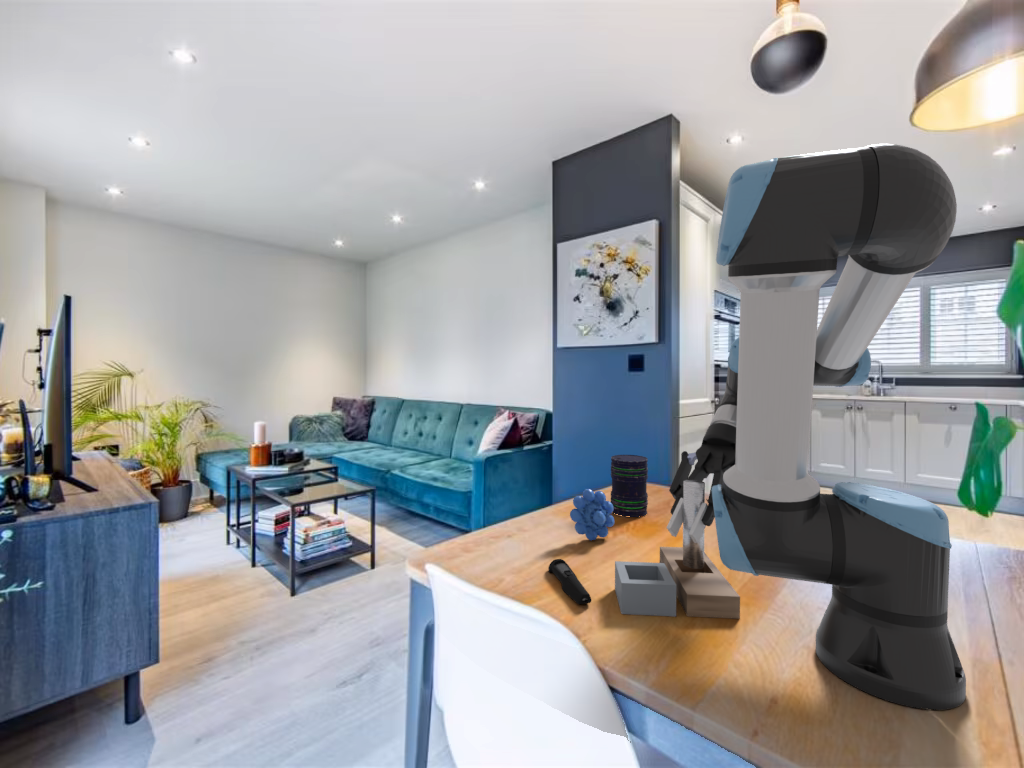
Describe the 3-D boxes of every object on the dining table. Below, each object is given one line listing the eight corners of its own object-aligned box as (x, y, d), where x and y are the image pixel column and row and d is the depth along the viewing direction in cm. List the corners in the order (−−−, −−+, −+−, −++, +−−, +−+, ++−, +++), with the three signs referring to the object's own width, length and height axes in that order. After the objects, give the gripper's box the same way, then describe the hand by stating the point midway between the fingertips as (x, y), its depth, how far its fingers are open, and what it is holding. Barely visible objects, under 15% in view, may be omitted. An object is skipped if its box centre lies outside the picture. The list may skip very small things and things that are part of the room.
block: (676, 616, 74) (676, 585, 74) (621, 613, 75) (621, 583, 74) (663, 591, 82) (664, 563, 82) (614, 588, 83) (615, 561, 83)
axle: (706, 569, 82) (707, 484, 82) (685, 568, 83) (686, 484, 82) (700, 560, 86) (701, 480, 86) (680, 560, 86) (681, 479, 86)
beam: (739, 618, 73) (740, 596, 73) (687, 616, 74) (687, 594, 74) (700, 565, 93) (701, 547, 93) (659, 563, 94) (659, 546, 94)
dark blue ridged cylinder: (640, 506, 133) (641, 454, 132) (653, 517, 123) (653, 461, 123) (606, 507, 132) (606, 454, 132) (616, 518, 122) (616, 461, 122)
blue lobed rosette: (580, 551, 100) (580, 495, 100) (564, 540, 107) (565, 488, 106) (625, 543, 105) (625, 490, 105) (607, 533, 111) (607, 483, 111)
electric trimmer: (574, 613, 76) (575, 594, 76) (546, 571, 91) (546, 555, 91) (596, 611, 77) (596, 592, 77) (565, 570, 92) (565, 554, 92)
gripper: (779, 451, 87) (736, 561, 77) (695, 441, 100) (649, 534, 90) (767, 424, 84) (721, 536, 74) (682, 417, 97) (633, 512, 87)
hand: (682, 535), depth 82 cm, fingers closed on axle, 3 cm apart
